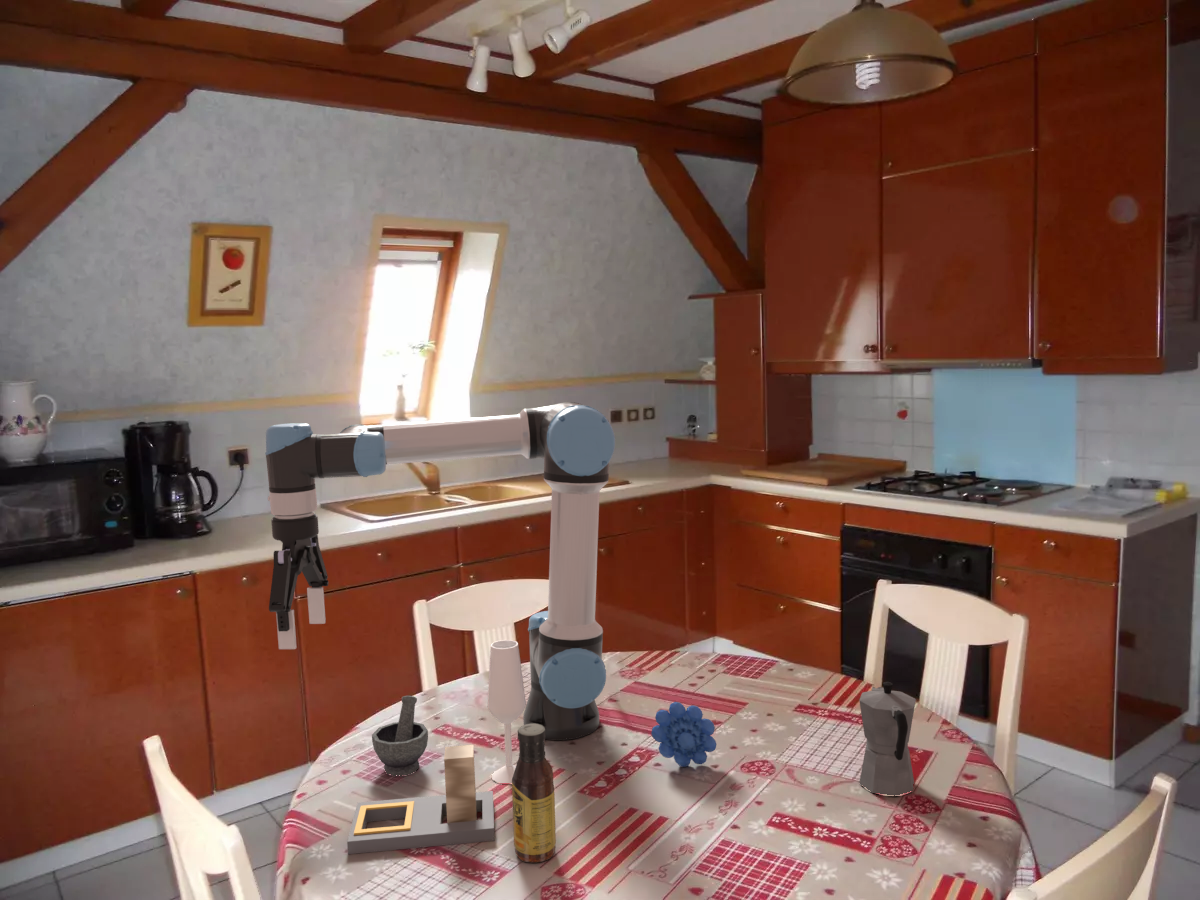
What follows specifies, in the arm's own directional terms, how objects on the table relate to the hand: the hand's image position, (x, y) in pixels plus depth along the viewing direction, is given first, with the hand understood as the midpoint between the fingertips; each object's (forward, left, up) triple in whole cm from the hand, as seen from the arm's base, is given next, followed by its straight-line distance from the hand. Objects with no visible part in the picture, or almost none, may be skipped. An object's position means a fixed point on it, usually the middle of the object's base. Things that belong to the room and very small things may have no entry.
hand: (303, 635), depth 160 cm
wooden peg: (-26, +19, -27) cm, 42 cm away
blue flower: (-65, +7, -27) cm, 71 cm away
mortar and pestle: (-15, -3, -27) cm, 31 cm away
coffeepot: (-97, +20, -27) cm, 103 cm away
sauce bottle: (-37, +30, -27) cm, 55 cm away
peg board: (-20, +19, -27) cm, 39 cm away
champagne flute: (-34, +4, -27) cm, 44 cm away
